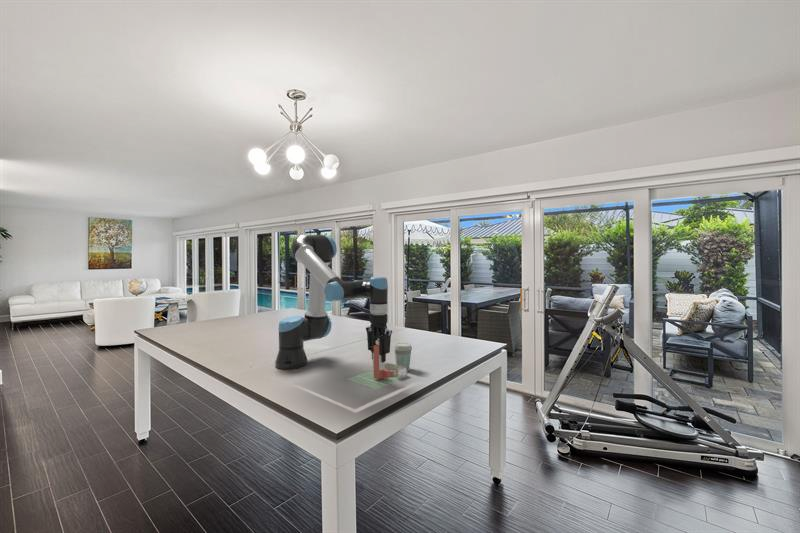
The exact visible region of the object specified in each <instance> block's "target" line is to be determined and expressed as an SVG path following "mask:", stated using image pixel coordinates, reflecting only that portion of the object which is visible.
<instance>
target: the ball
mask: <svg viewBox="0 0 800 533" xmlns="http://www.w3.org/2000/svg"><path fill="white" fill-rule="evenodd" d="M390 377H391V378H394V377H396V373H395V371H394V370H390Z"/></svg>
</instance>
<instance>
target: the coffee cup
mask: <svg viewBox="0 0 800 533" xmlns="http://www.w3.org/2000/svg"><path fill="white" fill-rule="evenodd" d="M393 349H394V355H395V356H394V357H395V364H396V365H400V366H404V367H407V372H408V371H410V365H411V355H412V349H413V348H412V344H411V343H408V342H398V343H395V344H394V346H393Z"/></svg>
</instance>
